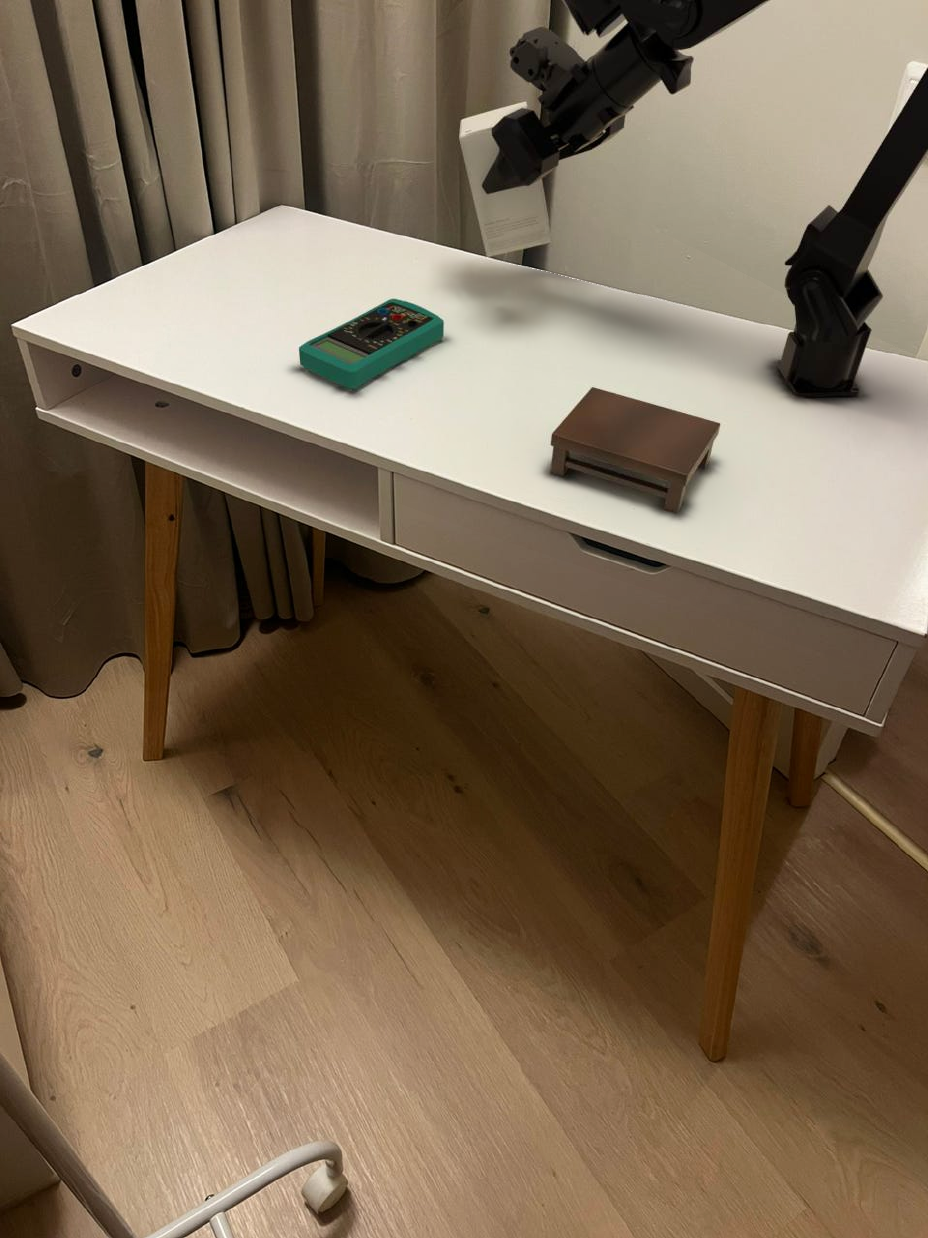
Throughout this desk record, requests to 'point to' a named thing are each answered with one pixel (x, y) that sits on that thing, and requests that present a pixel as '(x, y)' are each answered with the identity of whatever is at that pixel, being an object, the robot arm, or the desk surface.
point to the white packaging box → (506, 213)
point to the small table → (634, 443)
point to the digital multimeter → (371, 343)
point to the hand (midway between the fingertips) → (508, 176)
